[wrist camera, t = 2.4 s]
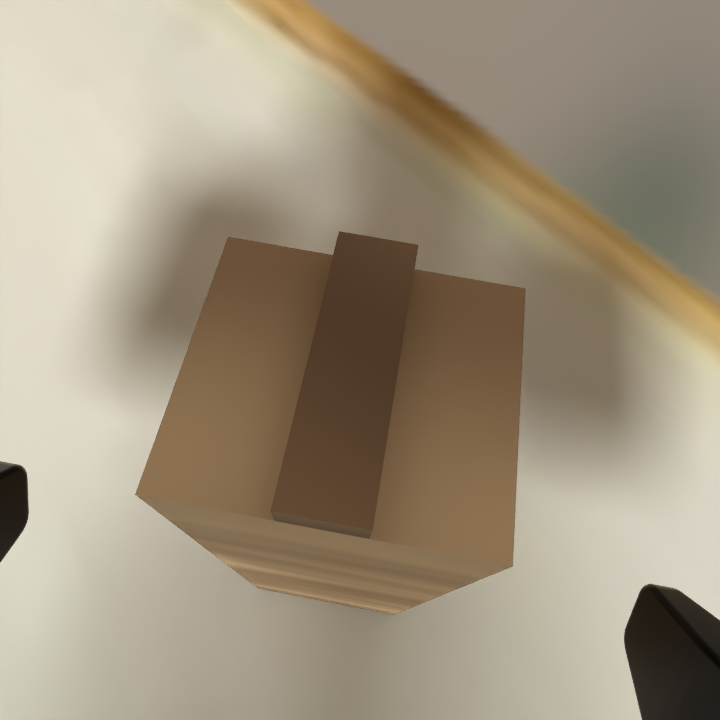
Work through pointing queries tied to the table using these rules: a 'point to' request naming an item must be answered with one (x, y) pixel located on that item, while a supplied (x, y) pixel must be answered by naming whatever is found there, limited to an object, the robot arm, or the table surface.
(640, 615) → the robot arm
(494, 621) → the table surface
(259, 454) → the wooden board
